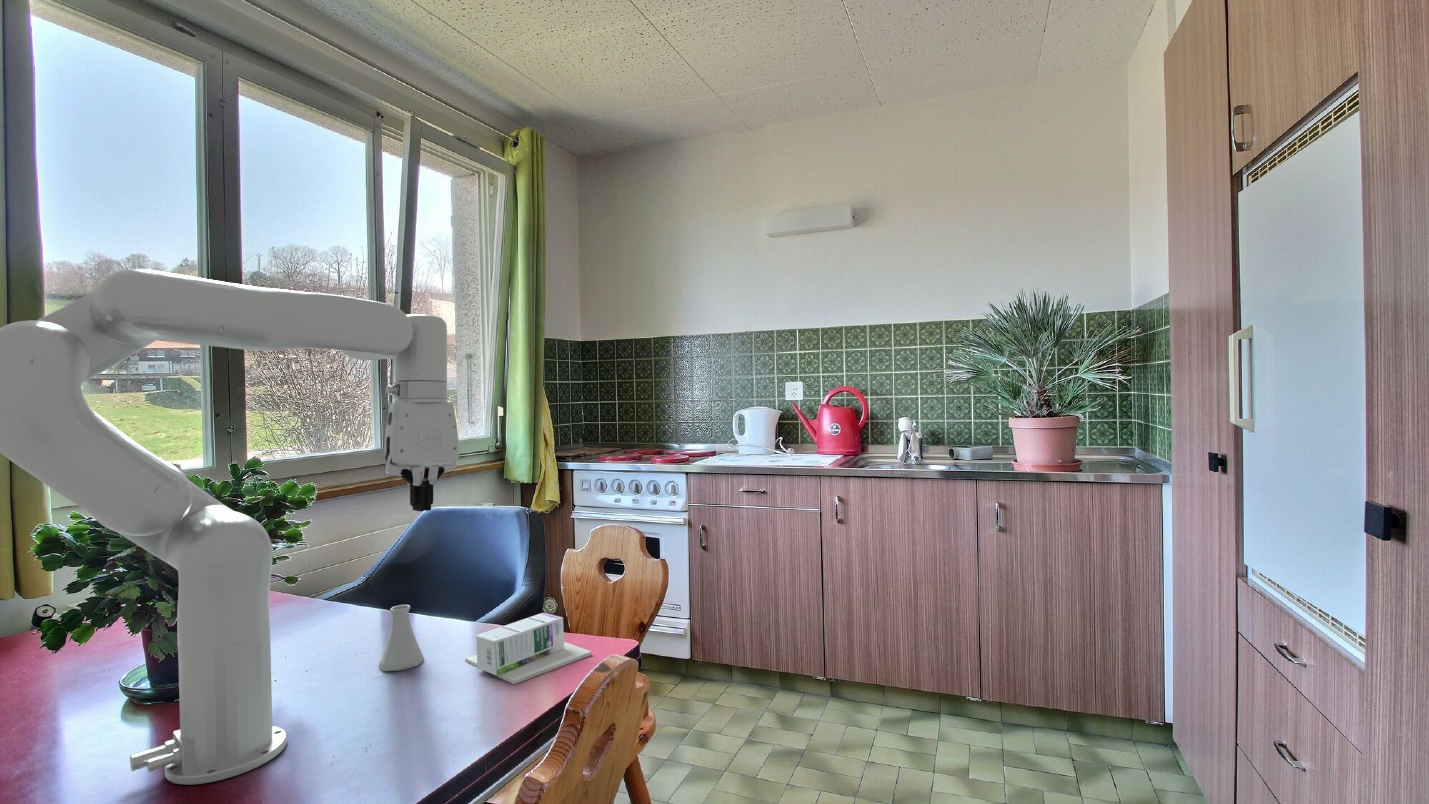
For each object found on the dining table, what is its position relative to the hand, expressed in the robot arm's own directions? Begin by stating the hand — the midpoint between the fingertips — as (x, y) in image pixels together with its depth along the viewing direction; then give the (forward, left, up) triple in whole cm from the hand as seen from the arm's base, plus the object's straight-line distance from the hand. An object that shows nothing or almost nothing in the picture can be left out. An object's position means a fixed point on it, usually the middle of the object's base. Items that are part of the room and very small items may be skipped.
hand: (421, 509), depth 104 cm
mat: (+18, -1, -29) cm, 34 cm away
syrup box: (+9, -2, -25) cm, 27 cm away
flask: (+3, +15, -29) cm, 32 cm away
